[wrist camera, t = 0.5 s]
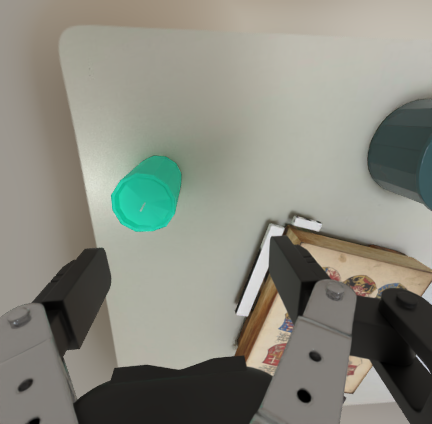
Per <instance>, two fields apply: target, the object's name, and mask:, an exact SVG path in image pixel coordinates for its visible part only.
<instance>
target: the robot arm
mask: <svg viewBox="0 0 432 424" xmlns="http://www.w3.org/2000/svg"><path fill="white" fill-rule="evenodd" d="M269 272H270V276H271V278H272V280H273V282H274V284H275V287H276V289H277V291H278V293H279V295H280V297H281V300H282V302H283V304H284V306H285V308H286V310H287V312H288V315H289V317H290V319H291V321H292V323H293V325H294V327H293V330H292V332H291V335H290V337H289V339H288V342H287V344H286V346H285V349H284V351H283V354H282V356H281V358H280V361H279V363H278V366H277V368H276V370H275V373H274V375H273V376H272V375H270V374H269V373H267V372H264V371H262V370H260V369H256V368H253V367H248V366H247V365H246V361H245V356H244V355H243V356H232V357H222V358H213V359H210V360H207V361H204V362H202V363H199V364H196V365H193V366H190V367H187V368H185V369H181V370H176V369H170V368H164V367H158V366H152V365H140V366H130V367H119V368H114V371H113V375H112V378H111V380H110V381H108V382H105V383H103V384H101V385H99V386H97V387H95V388H94V389H92V390H90V391H89V392H87V393H86V394H84V395H83V396H81V397H80V398H79V399H78V400H77V397H76V394H75V391H74V388H73V384H72V382H71V378H70V376H69V372H68V369H67V366H66V363H65V360H64V358H63V356H64V354H65V352H66V351H67V350H74V349H80V347H81V345H82V343H83V341H84V339H85V337H86V335H87V333H88V331H89V329H90V327H91V325H92V323H93V321H94V319H95V317H96V315H97V313H98V311H99V309H100V307H101V305H102V303H103V301H104V299H105V297H106V295H107V293H108V291H109V289H110V286H111V273H110V269H109V265H108V261H107V256H106V252H105V250H104V248H89V249H85V250H84V251H83V252H82V253H81V254H80V255H79V257H78V258H77V259H76V260H73V261H71V262H70V263H68V264H67V265H65V266H64V267H62V269H61V270H60V271H59V272H58V273H57V274H56V276H55V277H54V278H53V279H52V280H51V282H50V283H48V285H47V286H46V287H45V288H44V289H43V290H42V291H41V293H40V294H39V295H38V296H37V297H36V298H35V300H34V301H33V302H32V303H29V304H24V305H21V306H18V307H16V308H14V309H12V310H10V311H8V312H7V313H5V314H4V315H3V316H1V317H0V424H340V417H341V411H342V404H343V397H344V390H345V383H346V376H347V369H348V363H349V356H354V357H359V358H364V359H369V360H370V362H371V363H372V365H373V367H374V368H375V370H376V371H377V373H378V374H379V376H380V377H381V379H382V381H383V382H384V384H385V385H386V387H387V388H388V390H389V391H390V393H391V395H392V396H393V398H394V399H395V401H396V402H397V404H398V405H399V407H400V408H401V410H402V412H403V413H404V415H405V416H406V418H407V420H408V421H409V423H410V424H432V305H431V304H430V303H429V302H428V301H426V300H425V299H424V298H422V297H421V296H419V295H417V294H415V293H413V292H411V291H408V290H405V289H400V288H387V289H385V290H383V291H382V294H381V298H380V299H379V298H372V297H365V296H359V295H356V293H355V291H354V290H353V289H352V288H351V287H350V286H348V285H347V284H345V283H343V282H340V281H337V280H332V279H331V278H330V277H329V276H328V274H327V273H326V272H325V271H324V269H323V268H322V267H321V266H320V265H319V263H317V261H316V260H315V259H314V257H312V255H311V254H310V253H309V251H308V250H307V249H305V248H304V247H302V246H300V245H299V244H297V245H294V244H293V243H292V241H291V240H290V239H289V238H288V236H287V235H283V236H271V238H270V246H269ZM416 354H417V356H418V357H419V358H420V359H421V360H422V361H423V363H424V364H425V365H426V366H427V368H428V369H429V371H430V373H431V374H430V373H429V372H428V370H427V369H426V368H425V367H424V366H423V364H422V363H421V362H420V361H419V360H418V358H417V357H416Z"/></svg>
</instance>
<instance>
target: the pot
mask: <svg viewBox="0 0 432 424" xmlns="http://www.w3.org/2000/svg"><path fill="white" fill-rule="evenodd" d="M431 133H432V99H422V100H416V101H413V102H410V103H407V104H405V105H403V106H401V107H400V108H398V109H397V110H395V111H394V112H392V113H391V114H390V115H389V116H388V117H387V118H386V119H385V120H384V121H383V122H382V124H381V125H380V126H379V128H378V129H377V131H376V133H375V134H374V137H373V139H372V141H371V144H370V147H369V152H368V167H369V171H370V174H371V176H372V178H373V179H374V181H375V182H376V183H377V184H378V185H379V186H381V187H382V188H384V189H386V190H389V191H391V192H394V193H396V194H399V195H401V196H404V197H407V198H409V199H412V200H414V201H417V202H419V203H422V201H421V200H420V198H419V196H418V193H417V189H416V183H415V175H416V167H417V163H418V159H419V156H420V154H421V151H422V149H423V147H424V145H425V143H426V141H427V139H428V138H429V136H430V135H431ZM422 204H423V203H422Z"/></svg>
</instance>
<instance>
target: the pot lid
mask: <svg viewBox="0 0 432 424" xmlns="http://www.w3.org/2000/svg"><path fill="white" fill-rule="evenodd" d="M415 183H416V189H417V193H418V196H419V198H420V200H421V201H422V203H423V204H424V205H425V206H426V207H427V208H428V209H429V210H431V211H432V133H431V135H430V136H429V138H428V139H427V141H426V143H425V145H424V147H423V149H422V151H421V154H420V156H419V159H418V163H417V167H416V175H415Z"/></svg>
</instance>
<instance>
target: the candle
mask: <svg viewBox="0 0 432 424" xmlns="http://www.w3.org/2000/svg"><path fill="white" fill-rule="evenodd" d="M181 176H182V174H181V172H180V170H179V168H178V166H177V164H176V163H175V162H173V161H172V160H170V159H169V158H167V157H164V156H152V157H150V158H148V159H145V160H143V161H142V162H141V163H140V164H139V165H138V166H136V167H135V168H134V169H133V170H132V171H131V172H130V173H128V174H127V175H126V176H125V177H124V178H123V179H122V180H120V182H119V183H118V185H117V186H116V188H115V190H114V191H113V193H112V194H111V200H112V210H113V212H114V213H115V215H116V217H117V218H118V220H119V221H120V223H121V224H122V225H124V226H126V227H128V228H130V229H132V230H134V231H136V232H143V231H155V230H157V229H160V228H163V227H166V226H167V224H168V223H169V222H170V220H171V219H172V217H173V216H174V214H175V211H176V206H177V202H178V197H179V192H180V187H181Z"/></svg>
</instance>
